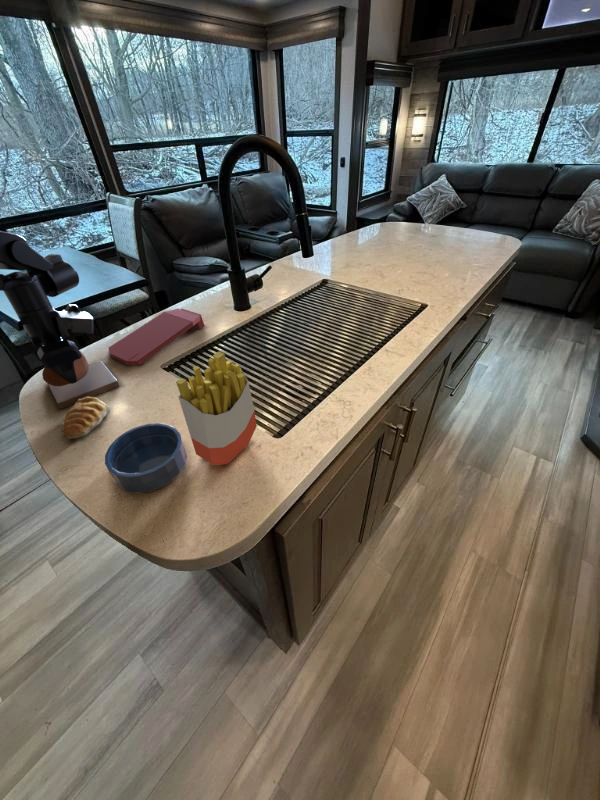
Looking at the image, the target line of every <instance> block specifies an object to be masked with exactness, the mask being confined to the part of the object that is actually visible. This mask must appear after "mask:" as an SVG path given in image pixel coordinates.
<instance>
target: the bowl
mask: <svg viewBox="0 0 600 800" xmlns="http://www.w3.org/2000/svg"><path fill="white" fill-rule="evenodd" d="M187 459H188V455H187V450H186V447H185V443H184V441H183V438H182V435H181V433H180V432H179V431H178V429H177V428H176V427H174V426H172V425H170V424H167V423H160V422H157V423H146V424H143V425H138V426H135V427H133V428H131V429H129V430H127V431H124V433H122V434H120V435H119V436H118V437H117V438H116V439H114V441H112V443H110V445H109V446H108V447H107V450H106V452H105V454H104V465H105V467H106V468H107V470H108V472H109V474H110V475H111V477H112V478H113V481H114V483H115V484H116V486H117V487H119V488H120V489H121V490H123V491H125V492H127V493H134V494H139V493H149V492H152V491H155V490H158V489H161V488H163V487H165V486H166V485H169V483H171V482H173V481H174V480H175V479H176V478H177V477H178V476H179V475H180V474H181V472H182V471H183V470H184V467H186V463H187Z"/></svg>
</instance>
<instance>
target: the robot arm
mask: <svg viewBox="0 0 600 800" xmlns="http://www.w3.org/2000/svg"><path fill="white" fill-rule="evenodd" d="M0 270H7V271H13V272H10V273H7V274H3V273H0V291H1V292H3V294H4V295H5V297H6V298H7V300H8V302H9V303H10V305H11V307H12V309H13V310H14V312H15V314H16V316H17V317H18V319H19V321H20V323H21V325H22V326H23V330H24V332H25V333H26V335H27V337H28V339H29V340H31V343H32V345H33V346H34V347H35V348H36V349H38V350H37V352H36V354H37V356H38V358H39V360H40V361H41V363H42V364H43V367H45V368H49V369H51V370H52V371H54V372H55V373H57V374H58V375H60V376H61V377H62V378H64V379H65V380H67V381H68V382H69V383H71V384H74V383H76V382H77V379H76V373H75V368H74V361H75V360H77V359H80V358H81V357H82V355H81V353H82V352H81V350H80V349H79V347H78V346H77V345H76V342H74V341H72V340H71V339H70V340H69V339H67V337H70V333H81V334H82V333H83V334H84V333H85V334H94V317H93V316H92V315H91V314H90V313H89V312H87V311H85V310H83V311H81V309H80V307H79V306H78V305H77V304H71V303H69V304H67V305H66V307H65V309H62V310H61V311H60V310H57V309H56V308H55V306H54V305H52V303H51V300H50V299H49V298H55V297H57V296H60V295H62V294H64V293H66V292H67V291H70V290H72V289H74V288H77V286H78V285H79V283H80V277H79V274H78V272H77V270H75V268H74V267H73V266H72V265H71V264H70V263H69V262H67V261H65V260H63V257H62V255H61V254H59V253H50V254H48V255H45V256H42V255H41V254H40V253H39V252H38V251H36V249H33V248H32V247H31V246H30V245H29V243H28V241H27V239H26V238H24V237H23V236H22V235H19V234H18V233H15V232H9V231H3V230H0ZM21 271H26V272H25V273H24V272H21ZM80 352H81V353H80Z"/></svg>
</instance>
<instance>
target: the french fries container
mask: <svg viewBox="0 0 600 800" xmlns="http://www.w3.org/2000/svg"><path fill="white" fill-rule="evenodd" d="M212 356H213V358H212V357H209V359H207V364H208V367H206V369H204V371H203V372H204V374H202V371H201V367H200V366H199V365H196V366H193V367H192V370H193V374H194V375H192V376H190V377H188V382H189V383H188V382H187V379H185V378H183V377H180V378H179V379H178V380H176V381H175V383H176V386H177V388H178V392H179V394H180V395H179V396H177V397H178V400H179V404H180V406H181V407H180V408H181V411H182V413H183V416H184V420H185V423H186V426H187V430H188V433H189V436H190V440H191V443H192V445H193V449H194V452H195V455H196V456H198V457H200V458H201V459H202V460H205V461H206V462H208V463H210V464H211V465H213V466H216V465H228V464H229V463H230V462H232V460H234V459H235V458H236V457H237V456H238V455H239V454H241V452H242V451H244V449H246V448H247V447H248V446H249V444H250V443H251V440H252V438H253V435H254V433H255V431H256V429H257V427H258V426H257V420H256V411H255V407H254V401H253V397H252V392H251V388H250V383H249V379H248V378H247V376H246V375H245V373H244V371H243V369H242V368H241V365H240V364H239V363H233V361H232V360H230V359H227V357H226V353H224V352H221V351H220V350H219V351H217V352H215V353H214V354H213V355H212ZM203 375H204V376H203ZM203 377H204V378H203ZM189 386H190V387H189Z"/></svg>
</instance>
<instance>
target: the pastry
mask: <svg viewBox="0 0 600 800" xmlns="http://www.w3.org/2000/svg"><path fill="white" fill-rule="evenodd" d="M108 409H109V406H108V404H107V403H105V402H103V401H102V400H101V399H99V398H98V397H96V396H93V397H84V398H82V399H78V401H77V402H76V403H75V404H73V406H71V407H69V409H68V410H67V412H66V414H65V416H64V419H63V424H62V433H63V434H64V436H65V437H66V439H78V438H81V437H82V438H83V437H84V436H86V435H88V434H89V433H91V431H92V430H94V429H95V428H97V426H99V424H100V423H101V422H102V421H103V420H104V417H106V415H107V414H108Z"/></svg>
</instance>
